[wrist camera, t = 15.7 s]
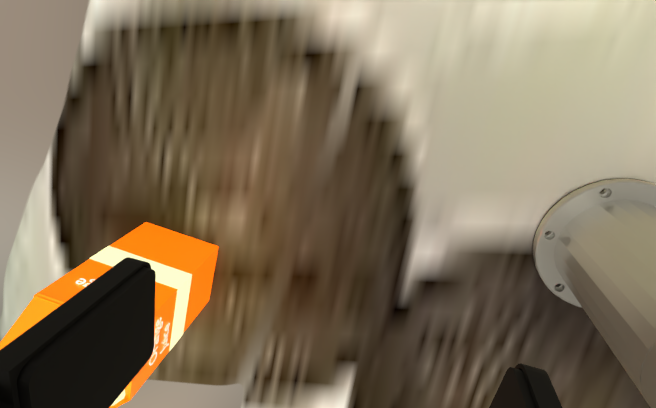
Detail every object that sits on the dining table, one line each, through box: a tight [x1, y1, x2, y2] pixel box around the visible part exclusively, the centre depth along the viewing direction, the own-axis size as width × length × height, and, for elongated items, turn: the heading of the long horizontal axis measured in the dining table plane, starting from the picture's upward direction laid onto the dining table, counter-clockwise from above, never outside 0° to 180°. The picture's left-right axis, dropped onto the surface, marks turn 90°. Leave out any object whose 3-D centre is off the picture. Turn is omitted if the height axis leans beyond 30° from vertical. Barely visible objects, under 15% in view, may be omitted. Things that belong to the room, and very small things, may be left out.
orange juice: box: [0, 222, 219, 408], centre depth 36 cm, size 8×9×20 cm
